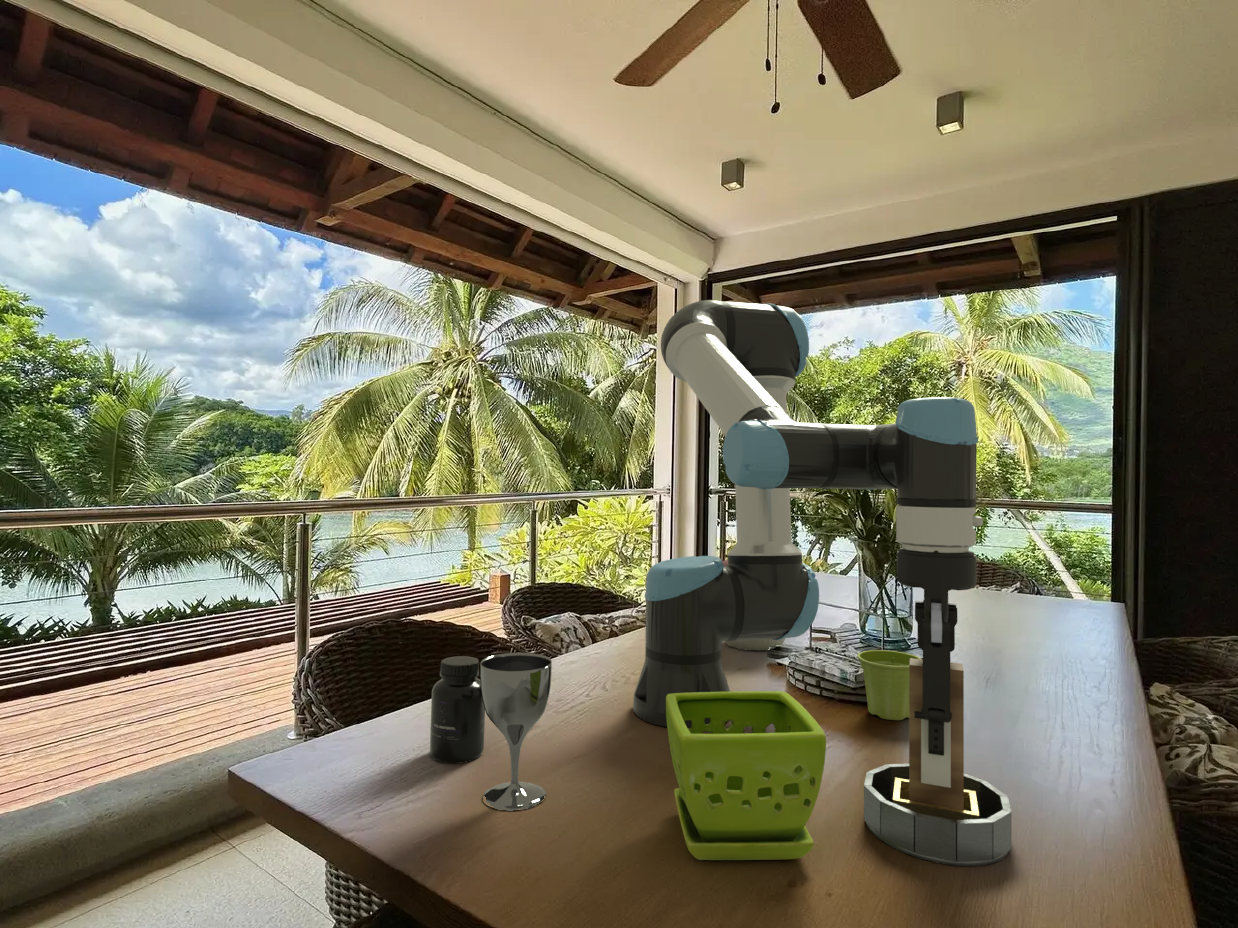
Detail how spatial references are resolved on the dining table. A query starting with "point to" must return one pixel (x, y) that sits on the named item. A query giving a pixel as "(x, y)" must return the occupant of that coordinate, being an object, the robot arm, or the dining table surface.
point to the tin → (938, 820)
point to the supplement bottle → (457, 712)
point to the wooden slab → (956, 793)
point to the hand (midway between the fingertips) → (935, 776)
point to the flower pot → (745, 773)
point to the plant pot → (887, 682)
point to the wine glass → (515, 716)
